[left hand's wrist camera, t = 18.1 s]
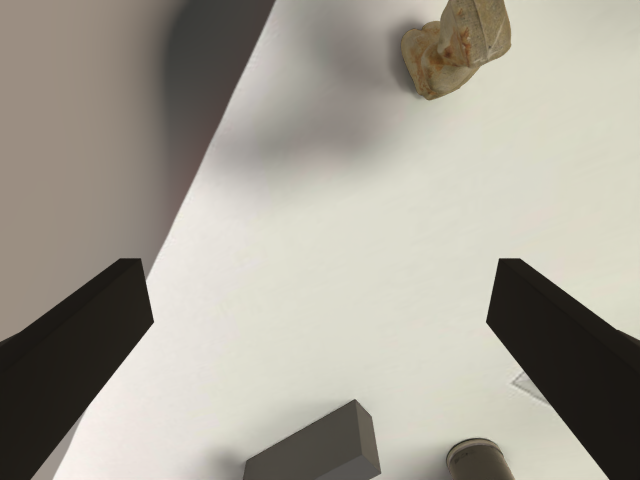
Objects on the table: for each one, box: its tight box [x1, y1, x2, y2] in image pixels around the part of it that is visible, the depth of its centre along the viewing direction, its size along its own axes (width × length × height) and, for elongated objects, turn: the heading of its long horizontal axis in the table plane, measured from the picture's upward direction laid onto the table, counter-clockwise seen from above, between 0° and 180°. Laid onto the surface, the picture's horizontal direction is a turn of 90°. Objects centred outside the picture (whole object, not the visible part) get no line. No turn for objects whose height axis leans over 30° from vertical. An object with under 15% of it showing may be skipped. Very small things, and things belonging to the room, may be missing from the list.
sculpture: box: [401, 0, 511, 100], centre depth 30 cm, size 6×7×15 cm
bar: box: [243, 400, 381, 480], centre depth 53 cm, size 23×5×9 cm, turn 127°
